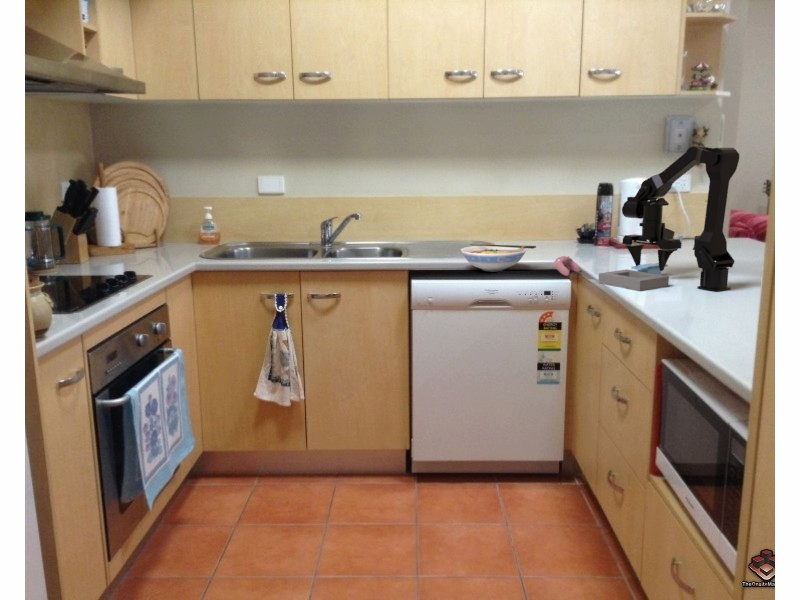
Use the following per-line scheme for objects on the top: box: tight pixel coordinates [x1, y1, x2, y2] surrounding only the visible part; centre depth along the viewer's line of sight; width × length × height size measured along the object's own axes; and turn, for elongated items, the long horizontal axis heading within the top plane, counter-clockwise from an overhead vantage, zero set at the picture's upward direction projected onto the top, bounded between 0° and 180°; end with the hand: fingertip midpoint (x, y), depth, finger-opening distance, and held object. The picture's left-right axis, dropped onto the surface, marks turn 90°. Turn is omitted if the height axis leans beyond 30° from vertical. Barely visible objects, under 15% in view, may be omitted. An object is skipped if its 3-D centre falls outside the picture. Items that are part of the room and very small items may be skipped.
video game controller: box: [553, 255, 581, 277], centre depth 222 cm, size 10×5×7 cm, turn 141°
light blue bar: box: [630, 262, 668, 275], centre depth 212 cm, size 4×12×4 cm, turn 119°
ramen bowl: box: [460, 243, 537, 273], centre depth 232 cm, size 25×23×8 cm
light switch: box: [598, 269, 670, 292], centre depth 200 cm, size 16×12×3 cm
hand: (649, 268), depth 212 cm, fingers open, 9 cm apart
